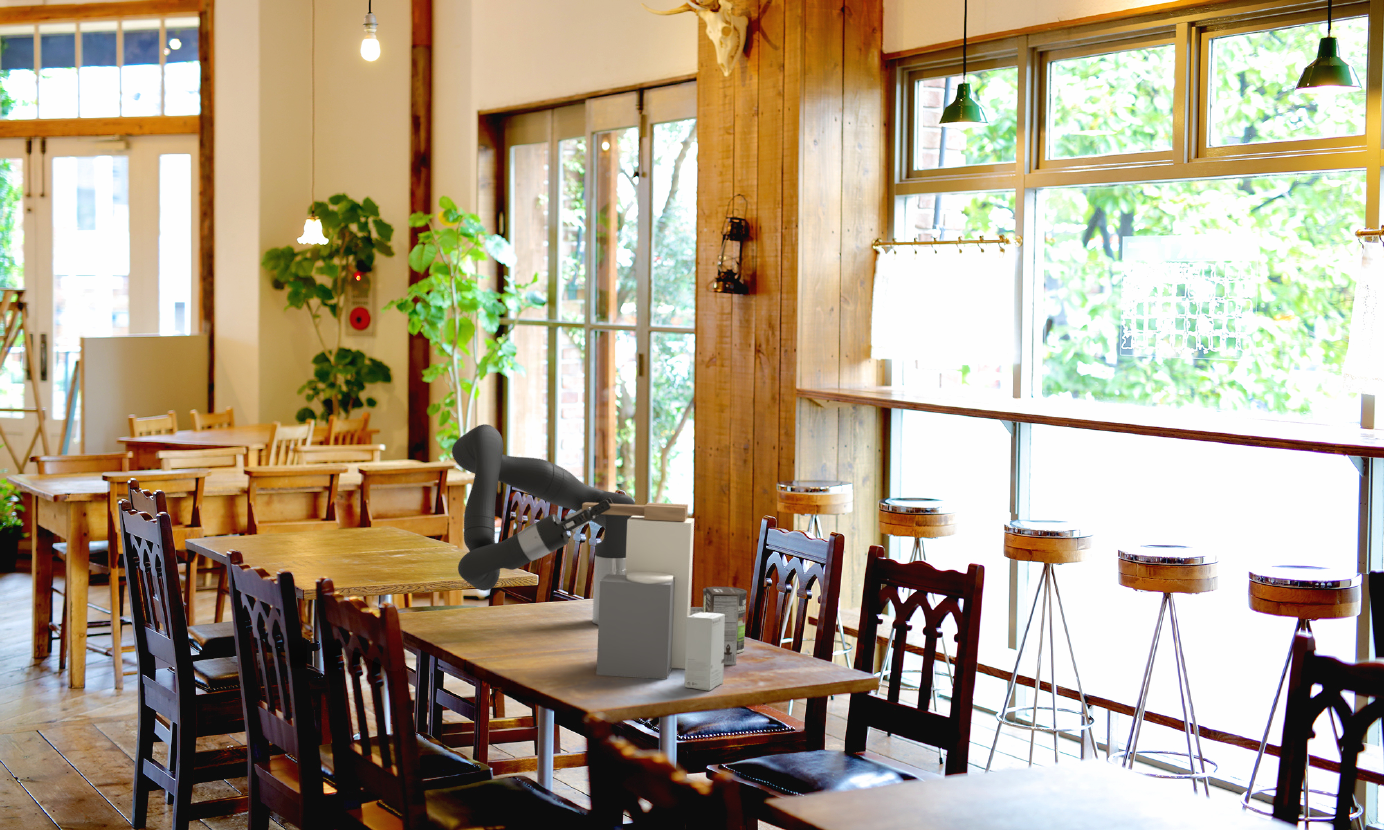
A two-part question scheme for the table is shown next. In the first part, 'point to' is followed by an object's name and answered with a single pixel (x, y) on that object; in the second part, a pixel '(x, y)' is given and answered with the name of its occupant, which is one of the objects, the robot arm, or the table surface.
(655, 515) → the oak block
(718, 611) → the coffee box
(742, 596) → the coffee can
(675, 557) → the tall plinth
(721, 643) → the skincare box
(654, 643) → the gray box
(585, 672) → the table surface
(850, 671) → the table surface
